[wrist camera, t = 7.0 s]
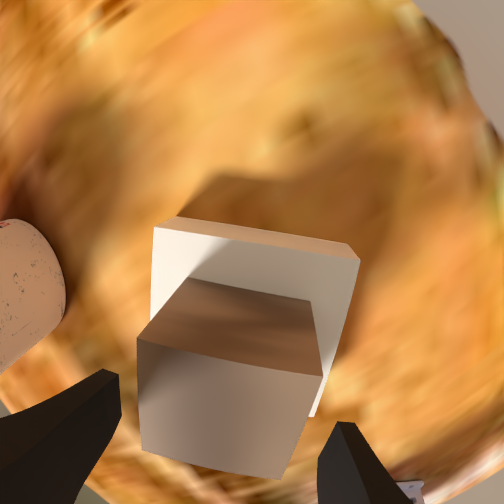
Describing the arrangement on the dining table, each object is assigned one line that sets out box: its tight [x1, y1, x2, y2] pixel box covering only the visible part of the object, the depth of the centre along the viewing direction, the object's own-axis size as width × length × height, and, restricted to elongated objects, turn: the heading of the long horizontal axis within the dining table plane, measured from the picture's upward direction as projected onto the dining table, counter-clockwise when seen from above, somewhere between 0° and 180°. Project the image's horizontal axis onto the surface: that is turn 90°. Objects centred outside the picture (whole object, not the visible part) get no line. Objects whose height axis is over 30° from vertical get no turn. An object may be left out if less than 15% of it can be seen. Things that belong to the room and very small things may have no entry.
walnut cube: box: [137, 277, 323, 480], centre depth 12 cm, size 6×6×6 cm
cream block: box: [150, 216, 361, 417], centre depth 16 cm, size 9×9×4 cm
